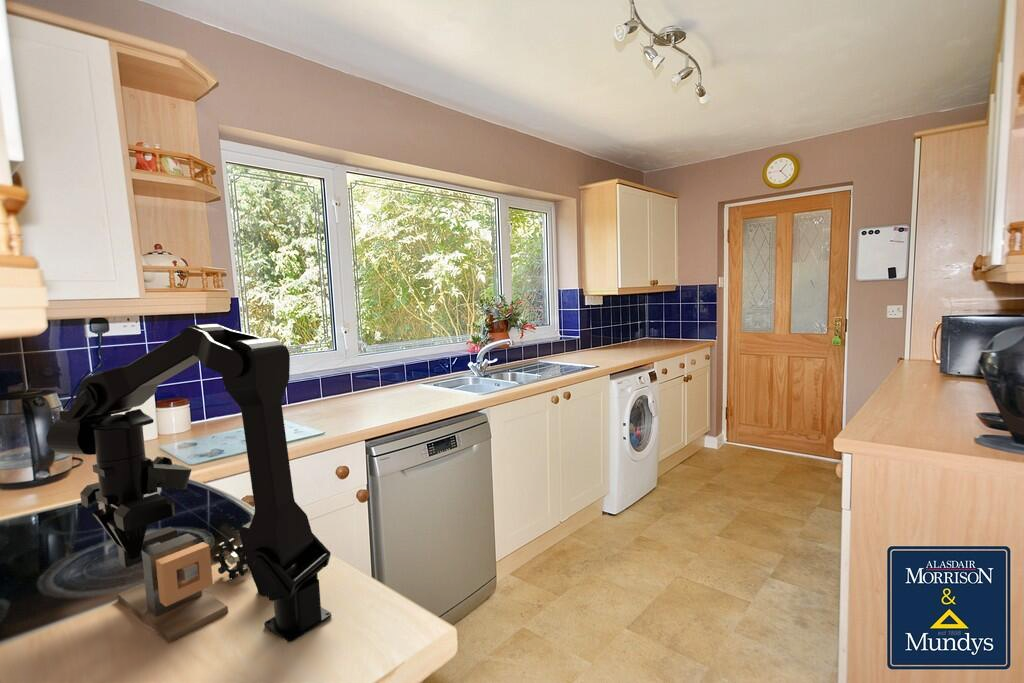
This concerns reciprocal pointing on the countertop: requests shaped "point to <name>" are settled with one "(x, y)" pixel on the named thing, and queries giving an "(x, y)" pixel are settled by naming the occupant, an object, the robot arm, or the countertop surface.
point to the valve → (231, 559)
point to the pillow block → (151, 572)
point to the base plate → (174, 613)
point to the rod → (153, 540)
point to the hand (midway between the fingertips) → (131, 555)
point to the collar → (171, 563)
